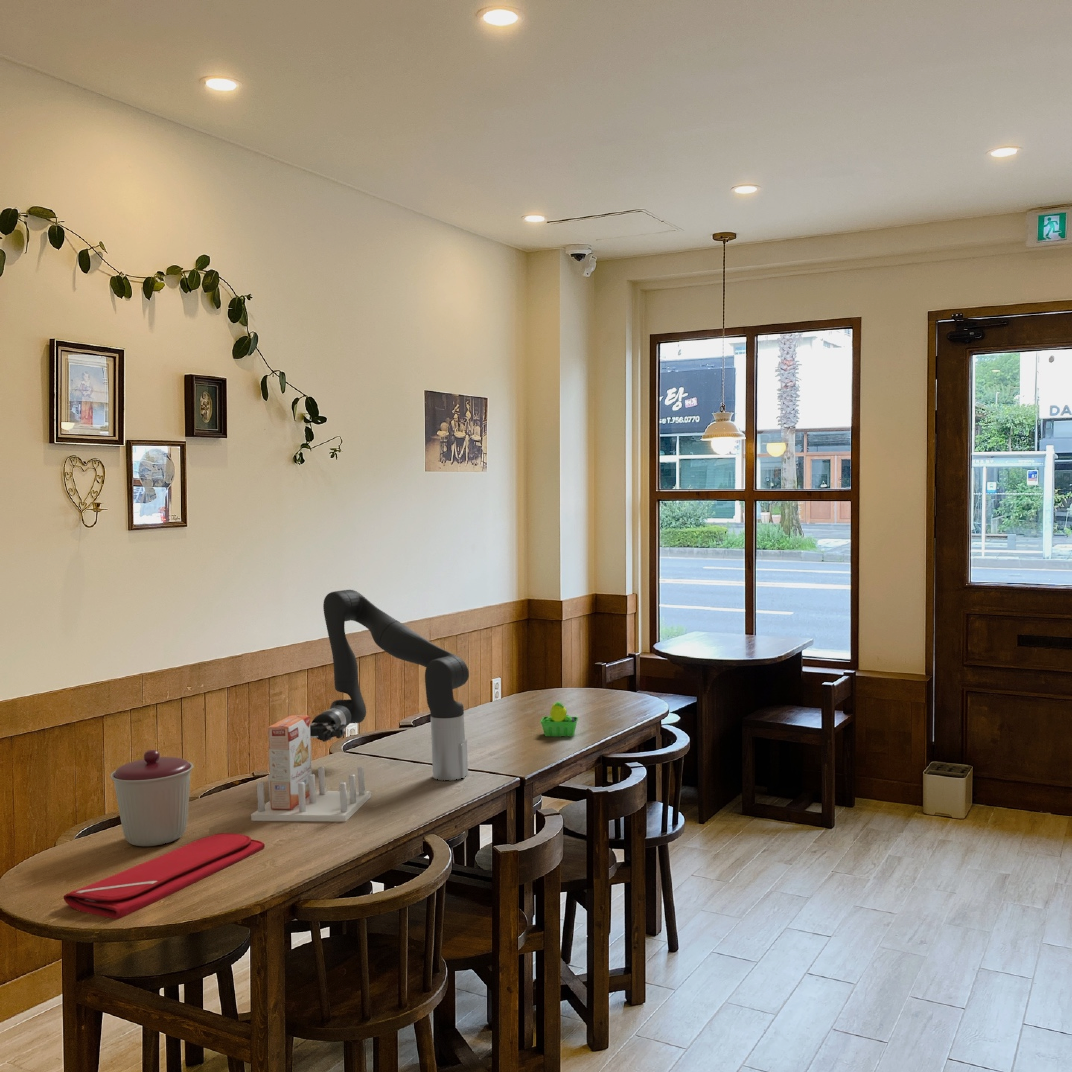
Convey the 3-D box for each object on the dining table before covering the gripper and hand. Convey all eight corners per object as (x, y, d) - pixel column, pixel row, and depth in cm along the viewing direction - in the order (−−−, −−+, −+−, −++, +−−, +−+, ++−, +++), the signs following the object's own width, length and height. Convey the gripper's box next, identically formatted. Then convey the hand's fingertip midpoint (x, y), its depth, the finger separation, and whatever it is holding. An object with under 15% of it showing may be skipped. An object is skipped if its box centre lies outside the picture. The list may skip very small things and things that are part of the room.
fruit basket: (579, 732, 327) (577, 697, 327) (575, 738, 319) (574, 703, 318) (544, 731, 329) (543, 697, 329) (539, 738, 321) (538, 703, 320)
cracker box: (293, 810, 249) (289, 726, 248) (270, 810, 250) (265, 726, 249) (314, 793, 263) (310, 714, 262) (292, 793, 264) (288, 714, 263)
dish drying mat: (266, 850, 227) (265, 834, 227) (119, 922, 190) (118, 902, 190) (213, 842, 234) (212, 826, 234) (61, 910, 197) (60, 891, 197)
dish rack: (370, 796, 264) (369, 764, 263) (345, 821, 244) (344, 786, 244) (283, 796, 267) (281, 764, 267) (251, 820, 247) (249, 786, 247)
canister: (109, 836, 239) (104, 748, 239) (188, 822, 248) (184, 737, 247) (119, 859, 224) (114, 764, 223) (203, 842, 232) (199, 751, 232)
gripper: (304, 711, 285) (282, 724, 269) (352, 710, 283) (333, 723, 267) (305, 737, 285) (283, 752, 269) (354, 737, 283) (334, 751, 267)
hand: (308, 737), depth 268 cm, fingers open, 8 cm apart
